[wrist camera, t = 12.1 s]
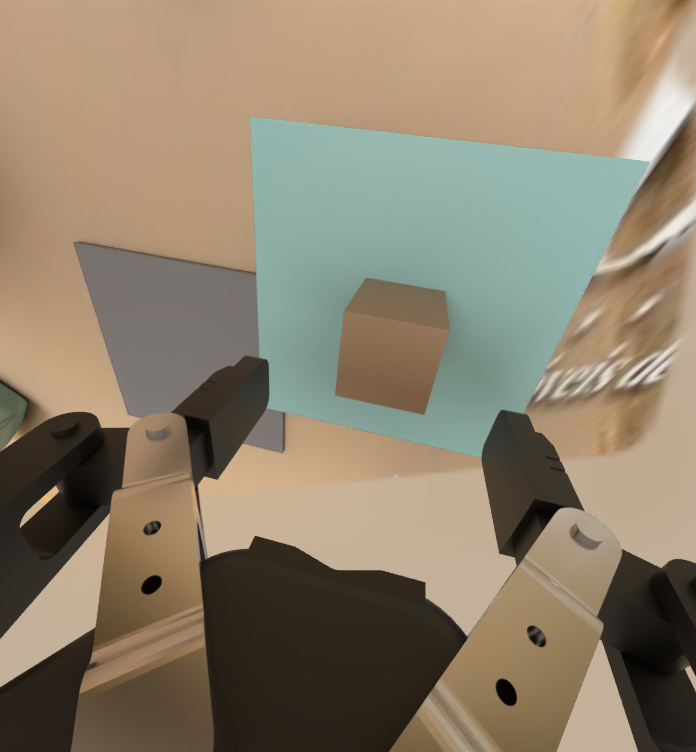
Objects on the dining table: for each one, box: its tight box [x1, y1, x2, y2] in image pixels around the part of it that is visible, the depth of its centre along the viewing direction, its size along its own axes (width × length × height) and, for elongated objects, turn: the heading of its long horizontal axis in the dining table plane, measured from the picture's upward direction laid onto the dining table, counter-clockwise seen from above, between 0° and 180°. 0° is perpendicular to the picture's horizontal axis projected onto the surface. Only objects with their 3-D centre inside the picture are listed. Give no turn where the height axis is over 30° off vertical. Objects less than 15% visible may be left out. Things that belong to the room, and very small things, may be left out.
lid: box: [250, 116, 650, 458], centre depth 16 cm, size 16×16×6 cm
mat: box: [74, 242, 285, 453], centre depth 31 cm, size 18×18×1 cm
